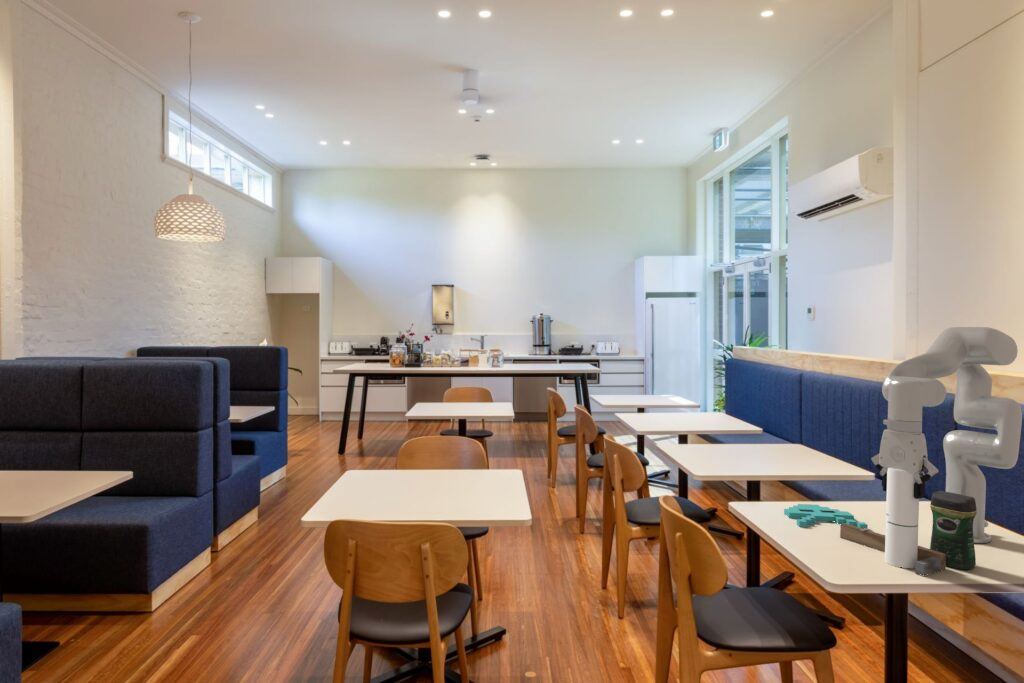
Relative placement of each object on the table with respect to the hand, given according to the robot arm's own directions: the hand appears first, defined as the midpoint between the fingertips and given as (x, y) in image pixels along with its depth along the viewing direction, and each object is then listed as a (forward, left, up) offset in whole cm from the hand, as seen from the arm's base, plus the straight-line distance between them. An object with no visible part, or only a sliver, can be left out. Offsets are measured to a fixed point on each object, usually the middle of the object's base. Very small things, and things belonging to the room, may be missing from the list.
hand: (902, 493), depth 157 cm
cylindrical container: (0, 0, -18) cm, 18 cm away
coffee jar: (-12, +6, -19) cm, 23 cm away
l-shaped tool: (-1, -6, -18) cm, 19 cm away
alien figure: (-16, -34, -19) cm, 42 cm away
